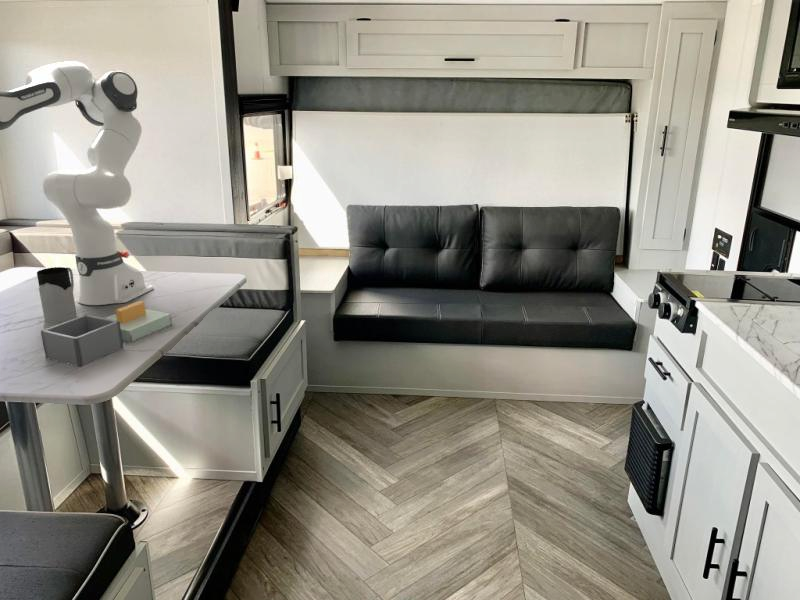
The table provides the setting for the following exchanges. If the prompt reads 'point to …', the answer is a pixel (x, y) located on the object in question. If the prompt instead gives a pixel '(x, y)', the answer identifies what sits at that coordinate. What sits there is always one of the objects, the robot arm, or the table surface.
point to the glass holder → (56, 295)
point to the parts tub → (82, 339)
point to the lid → (139, 320)
